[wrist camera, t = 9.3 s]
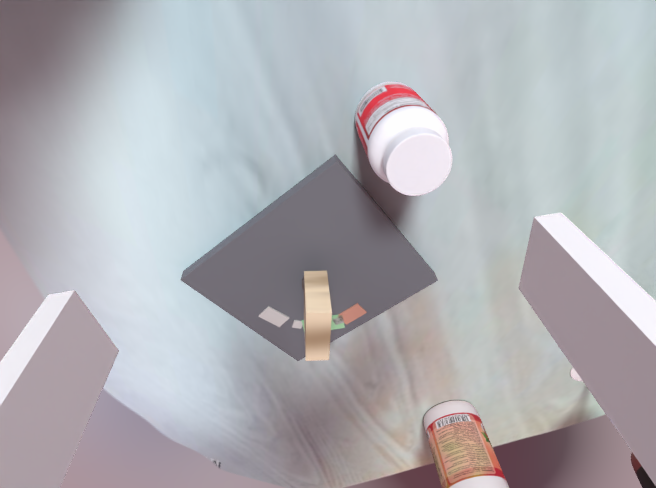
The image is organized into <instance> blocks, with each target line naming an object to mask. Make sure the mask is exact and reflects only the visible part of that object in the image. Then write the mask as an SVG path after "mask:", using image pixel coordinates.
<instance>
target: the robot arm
mask: <svg viewBox="0 0 656 488" xmlns="http://www.w3.org/2000/svg"><path fill="white" fill-rule="evenodd" d="M519 290H520V291H521V293H522V294H523V295H524V297H525V298H526V300H527V301H528V303H529V304H530V305H531V307H532V308H533V310H534V311H535V313H536V314H537V316H538V317H539V318H540V320H541V321H542V323H543V324H544V326H545V327H546V329H547V330H548V331H549V333H550V334H551V336H552V337H553V339H554V340H555V342H556V343H557V344H558V346H559V347H560V349H561V350H562V352H563V353H564V355H565V356H566V357H567V359H568V360H569V362H570V363H571V365H572V366H573V367H574V369H575V370H576V372H577V373H578V375H579V376H580V378H581V379H582V380H583V382H584V383H585V385H586V386H587V388H588V389H589V391H590V392H591V393H592V395H593V396H594V398H595V399H596V401H597V402H598V404H599V405H600V406H601V408H602V409H603V411H604V412H605V414H606V415H607V417H608V418H609V419H610V421H611V422H612V424H613V425H614V427H615V428H616V430H617V431H618V432H619V434H620V435H621V437H622V438H623V440H624V441H625V442H626V444H627V445H628V447H629V448H630V450H631V451H632V453H633V454H634V455H635V457H636V458H637V460H638V461H639V463H640V464H641V466H642V467H643V468H644V470H645V471H646V473H647V474H648V476H649V477H650V479H651V480H652V481H653V483H654V484H655V486H656V301H655V300H654V299H653V298H652V297H651V296H650V295H649V294H648V293H647V292H646V291H645V290H643V289H642V288H641V287H640V286H639V285H638V284H637V283H636V282H635V281H634V280H633V279H632V278H631V277H630V276H629V275H627V274H626V273H625V272H624V271H623V270H622V269H621V268H620V267H619V266H618V265H617V264H616V263H615V262H614V261H613V260H611V259H610V258H609V257H608V256H607V255H606V254H605V253H604V252H603V251H602V250H601V249H600V248H599V247H598V246H597V245H596V244H594V243H593V242H592V241H591V240H590V239H589V238H588V237H587V236H586V235H585V234H584V233H583V232H582V231H581V230H580V229H578V228H577V227H576V226H575V225H574V224H573V223H572V222H571V221H570V220H569V219H568V218H567V217H566V216H565V215H564V214H562V213H555V214H549V215H543V216H537V217H534V219H533V224H532V229H531V233H530V238H529V242H528V247H527V252H526V256H525V261H524V266H523V270H522V275H521V279H520V284H519ZM118 352H119V350H118V349H117V348H116V346H115V345H114V343H113V342H112V341H111V339H110V338H109V337H108V335H107V334H106V332H105V331H104V330H103V328H102V327H101V326H100V324H99V323H98V322H97V320H96V319H95V317H94V316H93V315H92V313H91V312H90V311H89V309H88V308H87V306H86V305H85V304H84V302H83V301H82V300H81V298H80V297H79V296H78V294H77V293H76V291H75V290H73V291H66V292H60V293H54V294H48V296H47V297H46V298H45V300H44V301H43V303H42V304H41V306H40V307H39V308H38V310H37V311H36V313H35V314H34V315H33V317H32V318H31V319H30V321H29V322H28V324H27V325H26V326H25V328H24V329H23V331H22V332H21V333H20V335H19V336H18V338H17V339H16V341H15V342H14V343H13V345H12V346H11V348H10V349H9V350H8V352H7V353H6V355H5V356H4V358H3V359H2V360H1V362H0V488H60V486H61V484H62V482H63V479H64V477H65V475H66V473H67V470H68V468H69V466H70V463H71V461H72V459H73V456H74V454H75V452H76V449H77V447H78V445H79V442H80V440H81V438H82V435H83V433H84V431H85V428H86V426H87V424H88V421H89V419H90V417H91V415H92V412H93V410H94V408H95V405H96V403H97V401H98V398H99V396H100V394H101V391H102V389H103V387H104V384H105V382H106V380H107V377H108V375H109V373H110V370H111V368H112V366H113V363H114V361H115V359H116V356H117V354H118Z"/></svg>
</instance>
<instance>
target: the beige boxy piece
mask: <svg viewBox="0 0 656 488" xmlns="http://www.w3.org/2000/svg"><path fill="white" fill-rule="evenodd" d="M302 289H303V290H304V332H305V356H306V361H315V360H329V351H330V335H331V320H332V309H331V300H330V292H329V284H328V275H327V271H304V277H303V279H302Z"/></svg>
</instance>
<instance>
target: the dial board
mask: <svg viewBox="0 0 656 488" xmlns="http://www.w3.org/2000/svg"><path fill="white" fill-rule="evenodd" d="M304 271H327V275H328V284H329V292H330V300H331V309H332V320H331V335H330V342H332V341H334V340H335V339H337V338H339V337H341V336H342V335H344V334H346V333H347V332H349V331H351V330H353V329H354V328H356V327H358V326H360V325H361V324H363V323H365V322H367V321H368V320H370V319H372V318H373V317H375V316H377V315H379V314H380V313H382V312H384V311H386V310H387V309H389V308H391V307H393V306H394V305H396V304H398V303H399V302H401V301H403V300H405V299H406V298H408V297H410V296H412V295H413V294H415V293H417V292H418V291H420V290H422V289H424V288H425V287H427V286H429V285H431V284H432V283H434V282H436V281H438V280H437V277H436V275H435V273H434V271H433V270H432V269H431V268H430V267H429V265H428V264H427V263H426V262H425V261H424V260H423V258H422V257H421V256H420V255H419V254H418V252H417V251H416V250H415V249H414V248H413V246H412V245H411V244H410V243H409V242H408V240H407V239H406V238H405V237H404V236H403V235H402V233H401V232H400V231H399V230H398V229H397V227H396V226H395V225H394V224H393V223H392V221H391V220H390V219H389V218H388V217H387V215H386V214H385V213H384V212H383V211H382V209H381V208H380V207H379V206H378V205H377V204H376V202H375V201H374V200H373V199H372V198H371V196H370V195H369V194H368V193H367V192H366V190H365V189H364V188H363V187H362V186H361V184H360V183H359V182H358V181H357V180H356V178H355V177H354V176H353V175H352V174H351V173H350V171H349V170H348V169H347V168H346V167H345V165H344V164H343V163H342V162H341V161H340V159H339V158H338V157H337V156H336V155H334V156H333V157H332V158H330V159H329V160H328V161H326V162H325V163H324V164H323V165H321V166H320V167H319V168H317V169H316V170H315V171H313V172H312V173H311V174H310V175H308V176H307V177H306V178H304V179H303V180H302V181H300V182H299V183H298V184H296V185H295V186H294V187H293V188H291V189H290V190H289V191H287V192H286V193H285V194H283V195H282V196H281V197H280V198H278V199H277V200H276V201H274V202H273V203H272V204H270V205H269V206H268V207H266V208H265V209H264V210H263V211H261V212H260V213H259V214H257V215H256V216H255V217H253V218H252V219H251V220H250V221H248V222H247V223H246V224H244V225H243V226H242V227H240V228H239V229H238V230H236V231H235V232H234V233H233V234H231V235H230V236H229V237H227V238H226V239H225V240H223V241H222V242H221V243H220V244H218V245H217V246H216V247H214V248H213V249H212V250H210V251H209V252H208V253H206V254H205V255H204V256H203V257H201V258H200V259H199V260H197V261H196V262H195V263H193V264H192V265H191V266H190V267H188V268H187V269H186V270H184V271H183V274H182V277H181V281H183V282H184V283H186V284H187V285H189V286H190V287H192V288H193V289H194V290H196V291H197V292H199V293H200V294H202V295H203V296H205V297H206V298H207V299H209V300H210V301H212V302H213V303H215V304H216V305H218V306H219V307H220V308H222V309H223V310H225V311H226V312H228V313H229V314H231V315H232V316H233V317H235V318H236V319H238V320H239V321H241V322H242V323H244V324H245V325H247V326H248V327H249V328H251V329H252V330H254V331H255V332H257V333H258V334H260V335H261V336H262V337H264V338H265V339H267V340H268V341H270V342H271V343H273V344H274V345H275V346H277V347H278V348H280V349H281V350H283V351H284V352H286V353H287V354H288V355H290V356H291V357H293V358H294V359H296V360H297V361H299V360H301V359H302V358H304V357H306V356H305V332H304V290H303V289H302V279H303V277H304Z"/></svg>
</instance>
